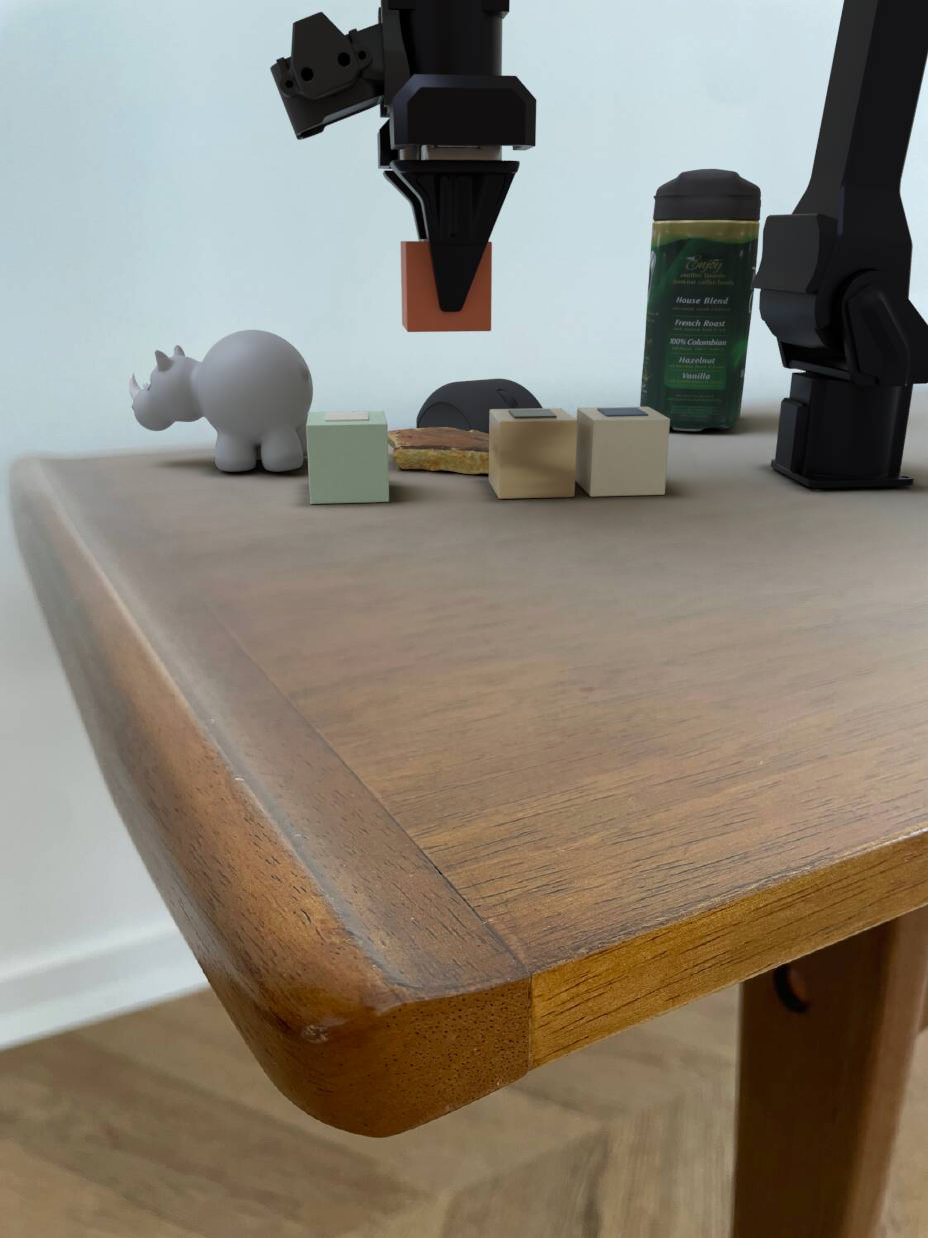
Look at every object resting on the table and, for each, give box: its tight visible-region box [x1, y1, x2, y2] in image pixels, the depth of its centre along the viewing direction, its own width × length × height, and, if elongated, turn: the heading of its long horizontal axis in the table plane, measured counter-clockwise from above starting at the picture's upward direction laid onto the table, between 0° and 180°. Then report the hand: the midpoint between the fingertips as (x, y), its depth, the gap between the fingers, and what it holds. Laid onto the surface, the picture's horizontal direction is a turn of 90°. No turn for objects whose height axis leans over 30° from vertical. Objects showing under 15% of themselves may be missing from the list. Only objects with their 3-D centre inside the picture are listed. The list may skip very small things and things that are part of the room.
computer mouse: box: [415, 378, 544, 434], centre depth 77 cm, size 6×11×4 cm, turn 30°
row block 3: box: [575, 406, 671, 498], centre depth 61 cm, size 4×4×4 cm
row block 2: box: [488, 407, 577, 500], centre depth 60 cm, size 4×4×4 cm
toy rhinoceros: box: [128, 329, 314, 473], centre depth 66 cm, size 7×12×8 cm, turn 82°
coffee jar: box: [639, 168, 762, 432], centre depth 79 cm, size 10×8×19 cm
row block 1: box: [306, 410, 390, 505], centre depth 59 cm, size 4×4×4 cm
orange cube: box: [400, 239, 493, 333], centre depth 55 cm, size 4×4×4 cm
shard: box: [388, 427, 489, 475], centre depth 66 cm, size 11×8×2 cm
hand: (446, 308), depth 56 cm, fingers closed on orange cube, 4 cm apart
